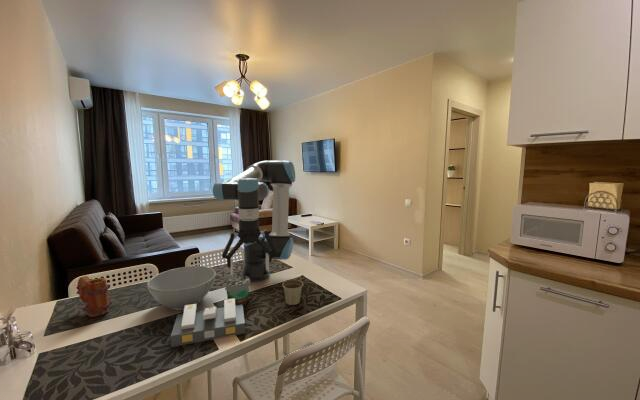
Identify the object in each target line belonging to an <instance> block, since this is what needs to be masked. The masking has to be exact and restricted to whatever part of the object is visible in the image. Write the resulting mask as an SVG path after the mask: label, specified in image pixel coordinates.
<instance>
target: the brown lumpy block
mask: <svg viewBox="0 0 640 400" xmlns="http://www.w3.org/2000/svg"><path fill="white" fill-rule="evenodd" d="M76 288H77V289H76V290H77V292H78V296H79V298H80V300H81V301H82V303H83V304H85V306H84V307H83V308H82V310H83V311H84V312H86V314H87V316H88V317H91V318H96V317H100V316H102V315H104V314H106V313H108V312H109V308H110V307H111V305H112V303H113V302H112V301H110V300H109V295H108V290H109V289H110V288H111V286H110V285H109V284H107V279H106V278H104V277H99V278H92V279H91V278H90V277H89V276H88V275H83V276H80V277H79V278H78V280H77V287H76Z"/></svg>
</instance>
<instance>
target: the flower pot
mask: <svg viewBox="0 0 640 400" xmlns="http://www.w3.org/2000/svg"><path fill="white" fill-rule="evenodd" d="M281 284H282V285H281V286H282V287H283V288H282V289H283V290H284V296H285V297H284V298H285V303H286V304H287V305H290V306H293V305H294V306H295V305H298V304H300V301H301V295H302V294H301V293H302V288H303V286H304V282H303V281H302V280H299V279H287V280H285V281H283V282H282V283H281Z"/></svg>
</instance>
